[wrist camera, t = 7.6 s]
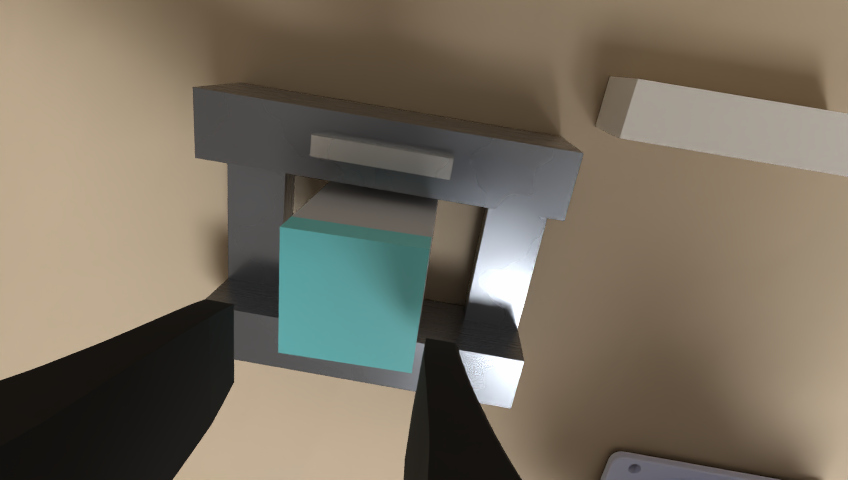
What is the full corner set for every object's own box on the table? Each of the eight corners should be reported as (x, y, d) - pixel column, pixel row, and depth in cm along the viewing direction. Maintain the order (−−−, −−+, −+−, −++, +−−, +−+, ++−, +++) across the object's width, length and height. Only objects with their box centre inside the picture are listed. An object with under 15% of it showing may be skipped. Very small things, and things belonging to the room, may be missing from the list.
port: (561, 136, 15) (586, 155, 12) (503, 356, 19) (511, 414, 16) (241, 82, 16) (186, 87, 12) (240, 310, 19) (197, 358, 16)
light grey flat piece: (945, -135, 12) (1060, -181, 10) (805, 162, 15) (868, 180, 13) (682, -176, 12) (734, -231, 10) (595, 126, 15) (619, 138, 13)
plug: (440, 185, 16) (429, 249, 11) (427, 275, 18) (411, 373, 12) (341, 171, 16) (279, 226, 11) (335, 261, 18) (278, 352, 12)
